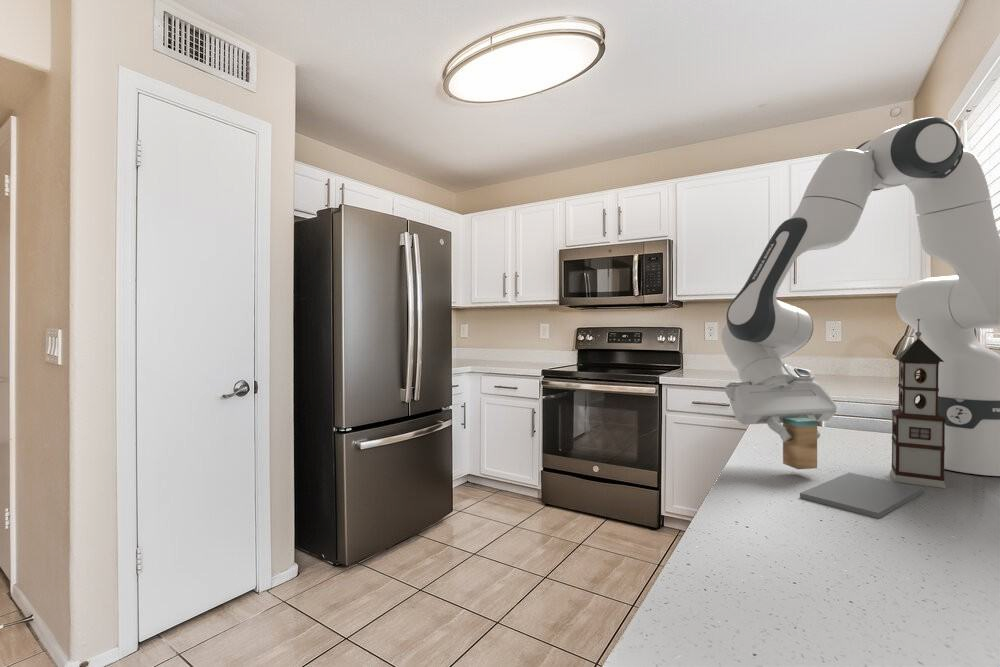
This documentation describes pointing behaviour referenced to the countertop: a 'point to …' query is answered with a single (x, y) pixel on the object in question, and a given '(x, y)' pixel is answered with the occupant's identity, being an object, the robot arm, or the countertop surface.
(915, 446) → the miniature building
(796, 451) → the oak block
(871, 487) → the rubber mat
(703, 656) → the countertop surface
